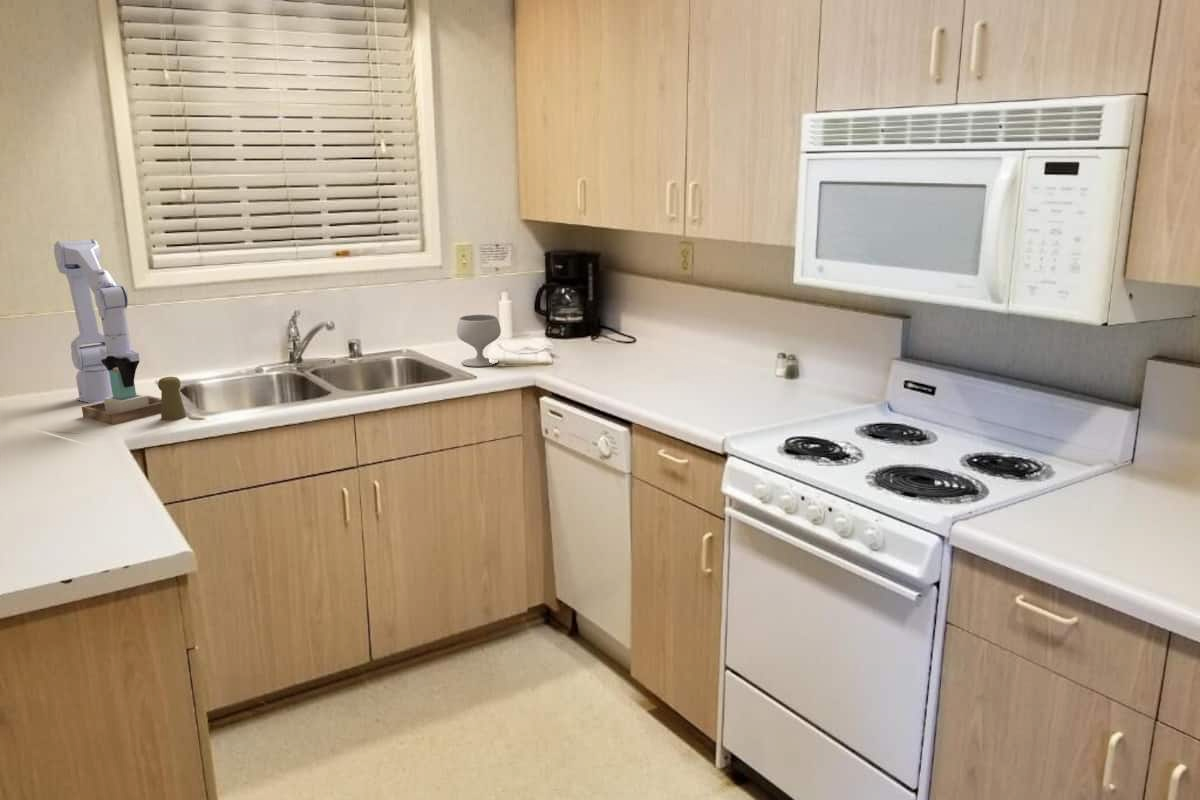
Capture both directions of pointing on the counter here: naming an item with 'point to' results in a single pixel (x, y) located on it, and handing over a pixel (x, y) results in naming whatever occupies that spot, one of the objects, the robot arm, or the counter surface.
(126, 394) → the plug
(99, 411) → the parts box
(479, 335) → the chalice
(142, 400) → the frame
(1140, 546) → the counter surface
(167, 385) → the olive pepper mill
